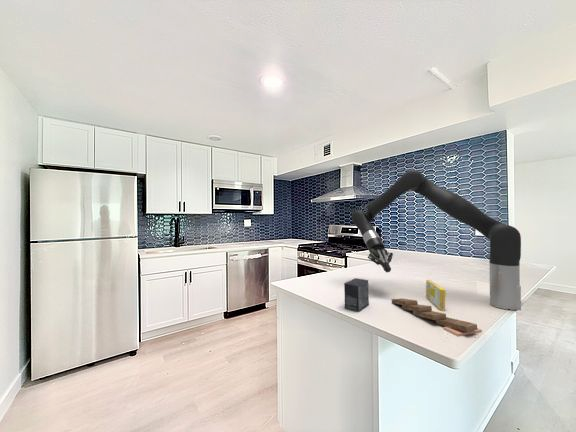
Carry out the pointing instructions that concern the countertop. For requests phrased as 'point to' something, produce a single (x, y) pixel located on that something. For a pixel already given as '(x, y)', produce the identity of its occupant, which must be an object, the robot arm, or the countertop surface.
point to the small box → (356, 294)
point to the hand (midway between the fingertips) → (388, 271)
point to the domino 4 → (457, 324)
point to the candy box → (435, 295)
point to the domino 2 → (417, 308)
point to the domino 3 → (430, 315)
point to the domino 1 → (404, 301)
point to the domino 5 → (459, 332)
